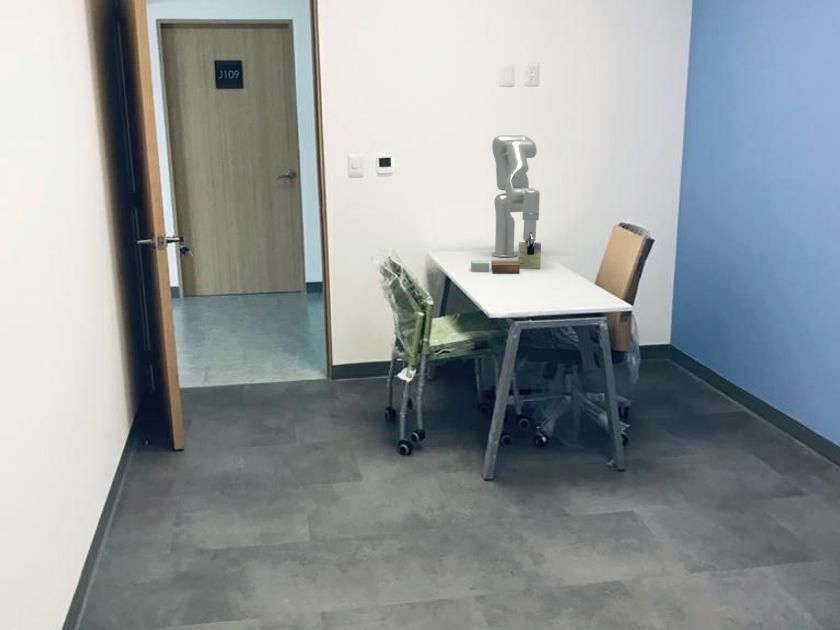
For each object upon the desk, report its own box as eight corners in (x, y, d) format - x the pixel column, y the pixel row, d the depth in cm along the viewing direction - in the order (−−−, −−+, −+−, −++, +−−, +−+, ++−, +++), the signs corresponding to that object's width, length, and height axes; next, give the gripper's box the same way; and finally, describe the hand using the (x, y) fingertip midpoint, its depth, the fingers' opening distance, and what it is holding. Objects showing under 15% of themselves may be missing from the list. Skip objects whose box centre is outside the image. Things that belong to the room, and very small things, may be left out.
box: (539, 266, 380) (540, 242, 377) (540, 268, 374) (541, 243, 371) (517, 266, 381) (518, 241, 378) (517, 268, 375) (518, 243, 372)
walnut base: (491, 268, 374) (491, 260, 373) (516, 268, 374) (517, 260, 373) (492, 273, 362) (493, 264, 361) (519, 273, 362) (519, 265, 361)
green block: (470, 268, 374) (471, 260, 373) (488, 268, 374) (488, 260, 373) (471, 271, 366) (471, 263, 366) (489, 271, 366) (489, 263, 365)
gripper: (520, 214, 380) (519, 250, 384) (524, 218, 363) (523, 256, 368) (536, 214, 380) (535, 250, 384) (541, 219, 363) (539, 256, 367)
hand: (529, 253), depth 376 cm, fingers open, 9 cm apart
